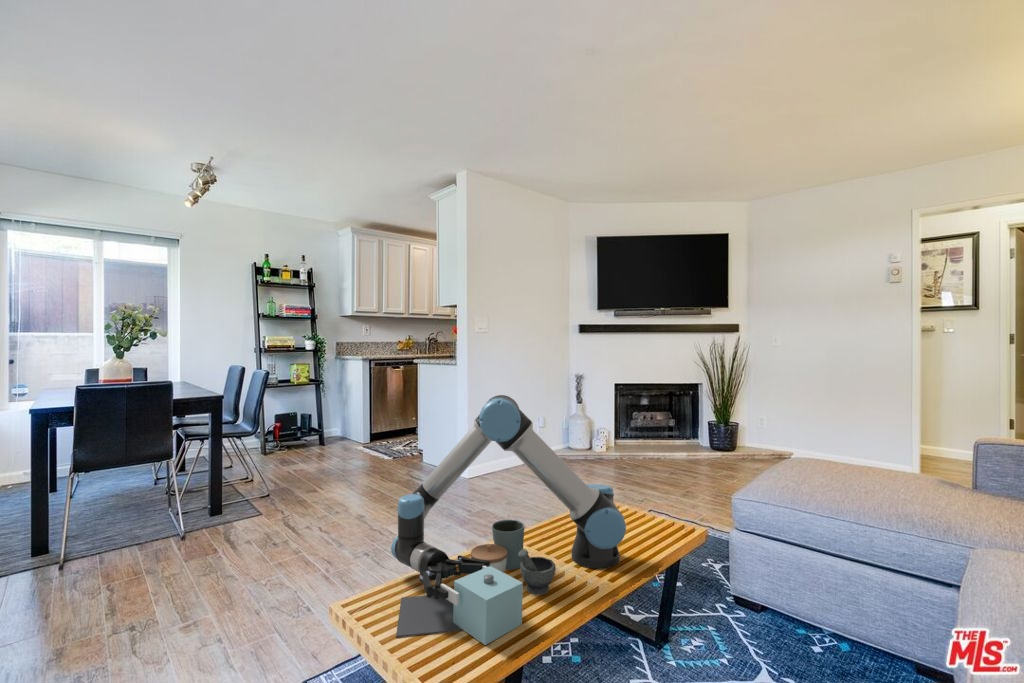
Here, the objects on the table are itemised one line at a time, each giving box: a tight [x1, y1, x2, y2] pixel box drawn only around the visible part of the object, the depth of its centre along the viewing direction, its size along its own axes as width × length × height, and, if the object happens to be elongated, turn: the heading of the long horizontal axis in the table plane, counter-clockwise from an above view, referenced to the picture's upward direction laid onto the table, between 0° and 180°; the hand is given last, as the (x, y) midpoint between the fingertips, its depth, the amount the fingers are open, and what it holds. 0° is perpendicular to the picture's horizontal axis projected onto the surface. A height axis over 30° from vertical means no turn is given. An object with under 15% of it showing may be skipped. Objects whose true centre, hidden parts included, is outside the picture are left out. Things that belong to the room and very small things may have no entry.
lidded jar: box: [470, 543, 507, 573], centre depth 135 cm, size 11×11×9 cm
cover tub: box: [453, 566, 524, 646], centre depth 112 cm, size 12×12×11 cm
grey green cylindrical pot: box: [491, 519, 525, 571], centre depth 144 cm, size 10×10×12 cm
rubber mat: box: [395, 594, 464, 638], centre depth 117 cm, size 17×17×1 cm
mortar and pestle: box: [518, 548, 556, 596], centre depth 129 cm, size 11×9×12 cm
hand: (480, 589), depth 114 cm, fingers open, 13 cm apart
